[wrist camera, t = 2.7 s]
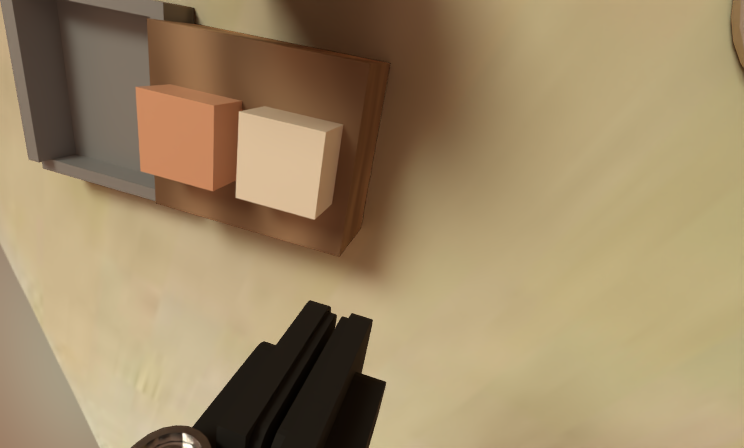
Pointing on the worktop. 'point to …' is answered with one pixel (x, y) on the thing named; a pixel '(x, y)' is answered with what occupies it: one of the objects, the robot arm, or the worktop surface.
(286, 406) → the robot arm
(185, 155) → the tile
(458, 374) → the worktop surface
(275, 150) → the tile
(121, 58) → the box
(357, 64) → the wooden square board
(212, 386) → the worktop surface
